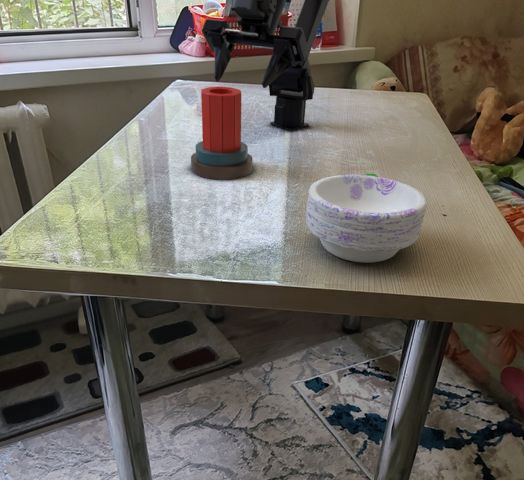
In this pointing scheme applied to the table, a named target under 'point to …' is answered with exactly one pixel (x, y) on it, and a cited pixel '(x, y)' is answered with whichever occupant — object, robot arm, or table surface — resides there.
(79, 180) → the table surface
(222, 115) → the red cylinder
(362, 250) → the paper bowls
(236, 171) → the stack base
